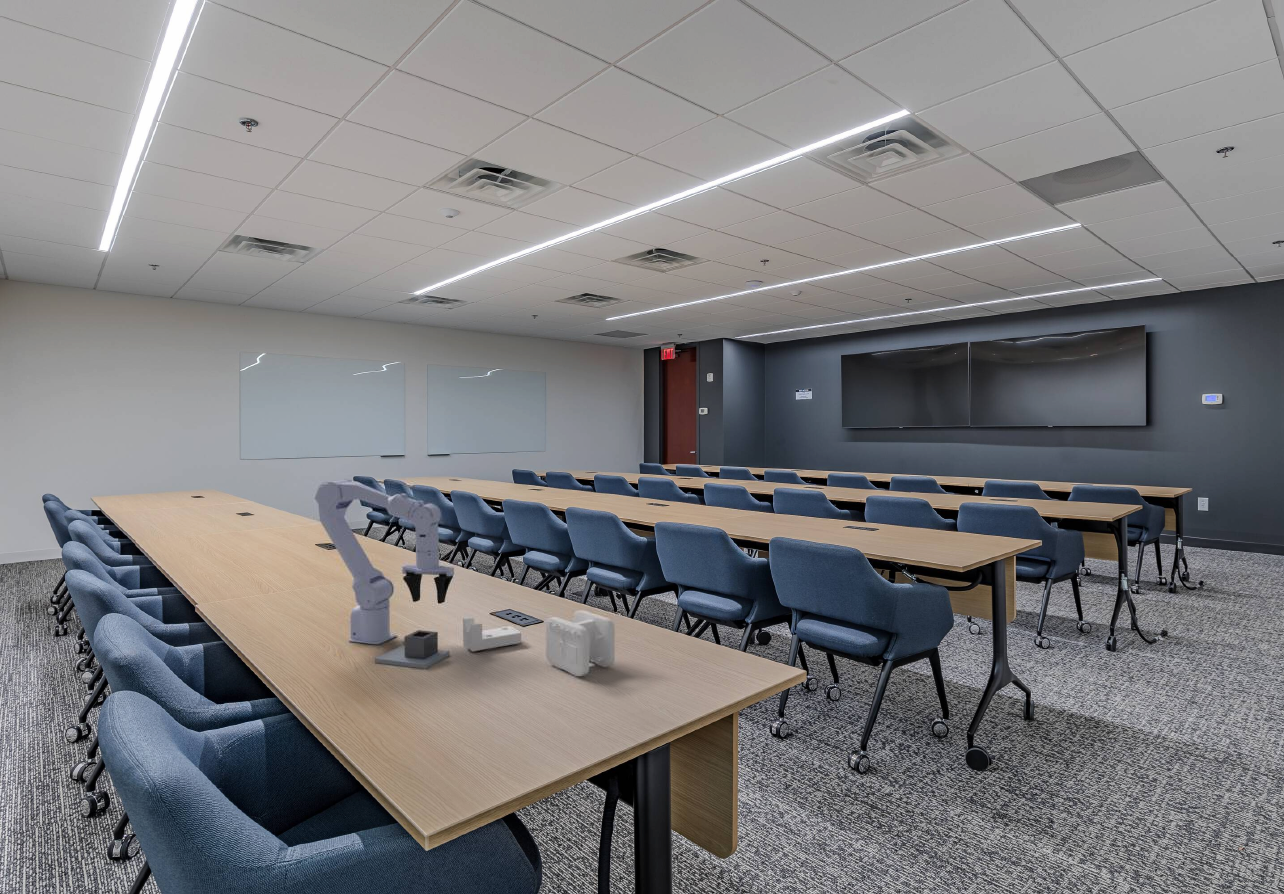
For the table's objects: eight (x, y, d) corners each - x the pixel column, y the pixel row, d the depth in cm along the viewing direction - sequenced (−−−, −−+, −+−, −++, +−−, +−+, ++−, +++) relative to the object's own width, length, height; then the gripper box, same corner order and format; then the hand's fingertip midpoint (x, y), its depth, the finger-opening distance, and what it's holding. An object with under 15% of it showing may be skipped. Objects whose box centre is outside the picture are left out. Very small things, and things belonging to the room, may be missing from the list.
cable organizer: (617, 670, 156) (617, 620, 156) (581, 681, 149) (581, 629, 149) (578, 654, 168) (578, 607, 167) (543, 664, 161) (543, 615, 160)
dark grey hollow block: (404, 657, 162) (404, 636, 162) (418, 650, 168) (418, 630, 167) (424, 659, 161) (424, 638, 161) (437, 652, 166) (437, 632, 166)
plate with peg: (374, 662, 162) (374, 643, 161) (401, 649, 171) (401, 631, 171) (424, 668, 157) (424, 649, 157) (449, 655, 167) (449, 636, 167)
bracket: (472, 655, 168) (472, 624, 168) (463, 647, 174) (463, 618, 174) (521, 646, 175) (521, 617, 175) (511, 638, 181) (510, 610, 181)
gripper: (394, 552, 176) (395, 603, 176) (442, 554, 171) (443, 607, 172) (411, 547, 183) (412, 597, 183) (457, 549, 178) (459, 600, 178)
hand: (428, 601), depth 178 cm, fingers open, 7 cm apart
